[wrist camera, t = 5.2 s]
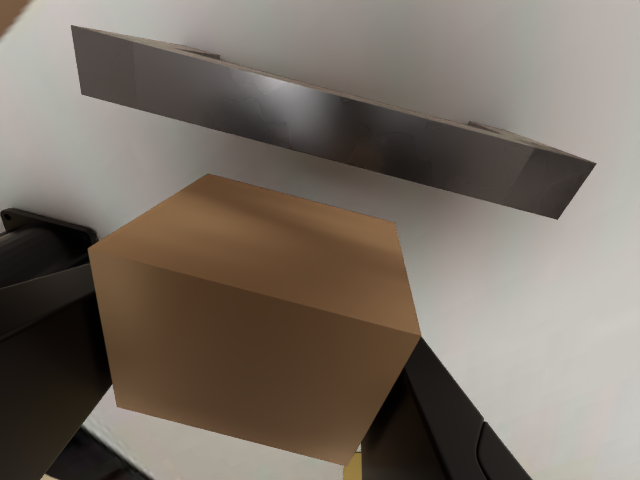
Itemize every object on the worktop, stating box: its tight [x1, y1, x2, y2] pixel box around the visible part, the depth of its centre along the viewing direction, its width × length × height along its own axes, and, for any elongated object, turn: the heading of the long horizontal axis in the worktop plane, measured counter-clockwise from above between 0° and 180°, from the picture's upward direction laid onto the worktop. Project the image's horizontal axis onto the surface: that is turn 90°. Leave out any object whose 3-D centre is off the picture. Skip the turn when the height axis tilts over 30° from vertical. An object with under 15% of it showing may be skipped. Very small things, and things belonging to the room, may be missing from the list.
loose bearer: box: [88, 174, 421, 466], centre depth 7 cm, size 5×4×4 cm
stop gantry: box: [71, 25, 596, 220], centre depth 13 cm, size 17×2×6 cm, turn 77°
